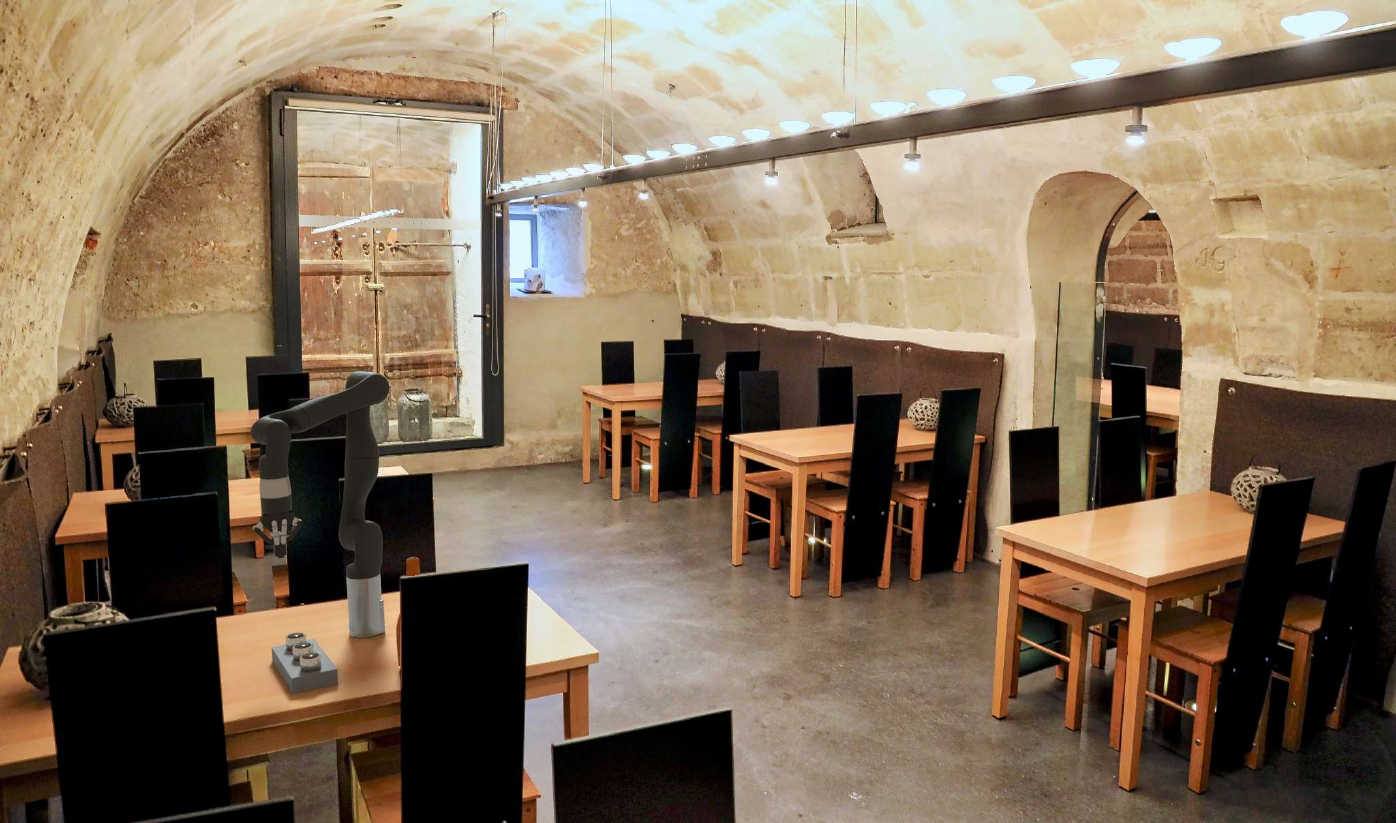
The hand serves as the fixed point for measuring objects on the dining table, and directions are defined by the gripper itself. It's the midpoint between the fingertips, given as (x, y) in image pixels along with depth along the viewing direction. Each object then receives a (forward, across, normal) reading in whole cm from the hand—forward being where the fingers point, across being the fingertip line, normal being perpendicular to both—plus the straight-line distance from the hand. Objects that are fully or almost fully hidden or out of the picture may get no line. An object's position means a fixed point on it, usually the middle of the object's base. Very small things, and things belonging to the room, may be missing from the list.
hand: (280, 557), depth 272 cm
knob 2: (+24, -1, +12) cm, 27 cm away
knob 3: (+24, -1, +20) cm, 32 cm away
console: (+28, -1, +12) cm, 31 cm away
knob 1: (+24, -2, +3) cm, 24 cm away
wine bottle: (+29, -26, +26) cm, 47 cm away
